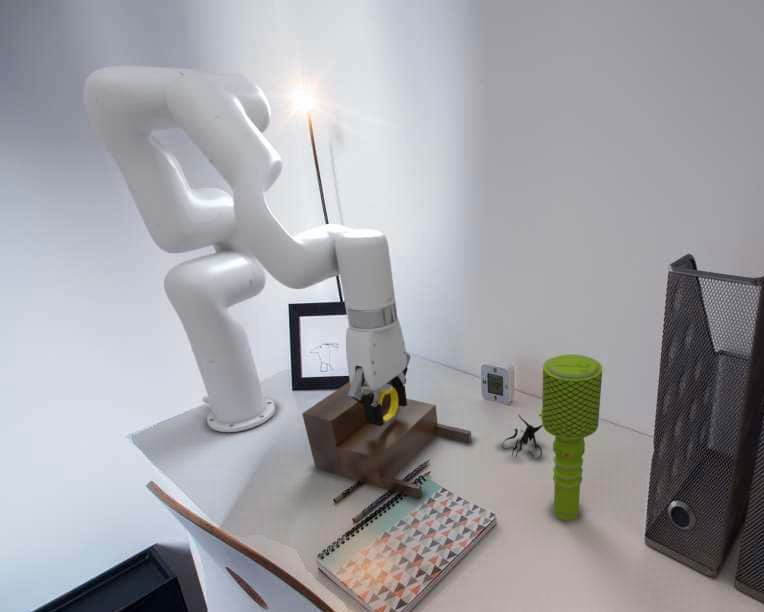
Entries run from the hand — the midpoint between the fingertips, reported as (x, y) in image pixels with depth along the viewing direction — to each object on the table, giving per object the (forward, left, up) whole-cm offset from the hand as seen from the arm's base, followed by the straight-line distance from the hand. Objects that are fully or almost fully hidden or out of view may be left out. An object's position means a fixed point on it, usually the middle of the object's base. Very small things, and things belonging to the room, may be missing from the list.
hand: (387, 413), depth 90 cm
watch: (0, 0, -1) cm, 1 cm away
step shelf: (+1, 0, -8) cm, 8 cm away
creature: (+21, +10, -8) cm, 25 cm away
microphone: (+33, -3, -8) cm, 34 cm away
